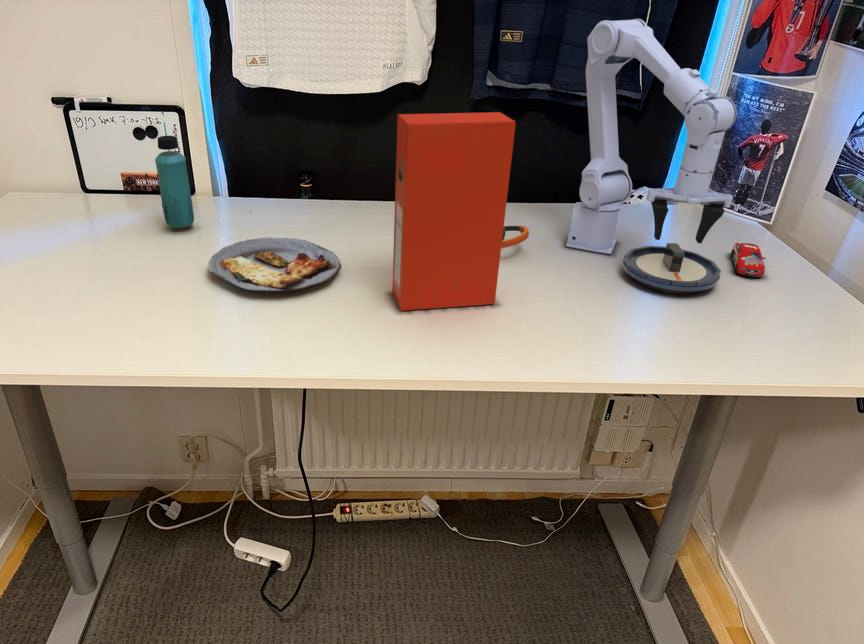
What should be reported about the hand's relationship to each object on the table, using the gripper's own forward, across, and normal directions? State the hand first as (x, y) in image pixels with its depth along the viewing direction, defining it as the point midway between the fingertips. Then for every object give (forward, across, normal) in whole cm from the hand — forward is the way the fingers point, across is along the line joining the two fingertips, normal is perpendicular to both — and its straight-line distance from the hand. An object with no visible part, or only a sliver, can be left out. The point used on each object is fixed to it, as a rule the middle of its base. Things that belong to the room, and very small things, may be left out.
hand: (677, 239), depth 130 cm
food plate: (+9, -76, -13) cm, 77 cm away
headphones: (+8, -37, +8) cm, 39 cm away
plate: (+6, 0, 0) cm, 6 cm away
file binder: (+8, -43, -18) cm, 47 cm away
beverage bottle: (+9, -103, +4) cm, 104 cm away
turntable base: (+8, 0, 0) cm, 8 cm away
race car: (+8, +17, +10) cm, 21 cm away
